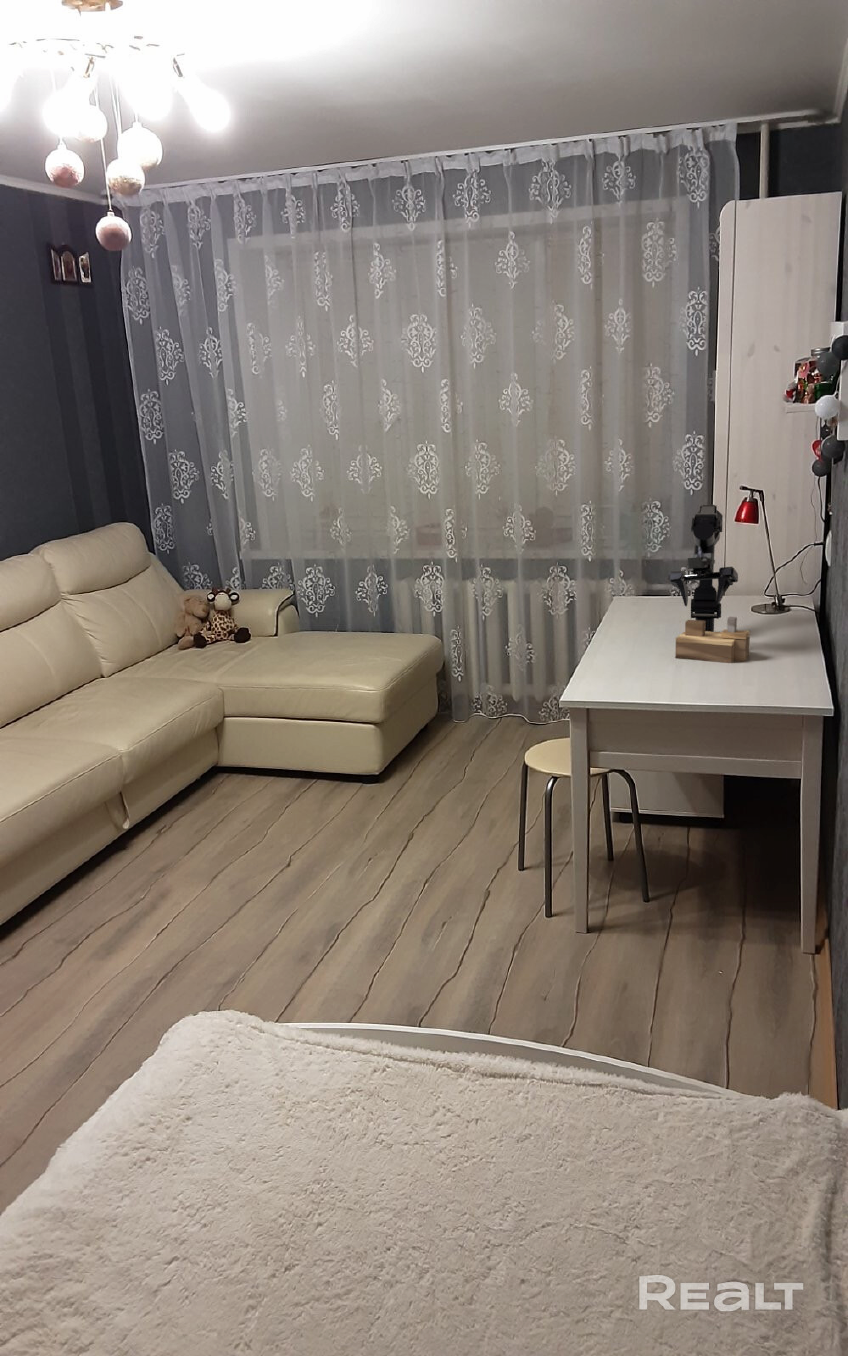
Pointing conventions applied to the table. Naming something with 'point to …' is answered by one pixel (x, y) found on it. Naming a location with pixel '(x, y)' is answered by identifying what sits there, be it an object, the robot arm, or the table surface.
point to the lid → (702, 634)
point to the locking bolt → (734, 630)
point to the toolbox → (714, 651)
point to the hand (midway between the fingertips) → (701, 604)
